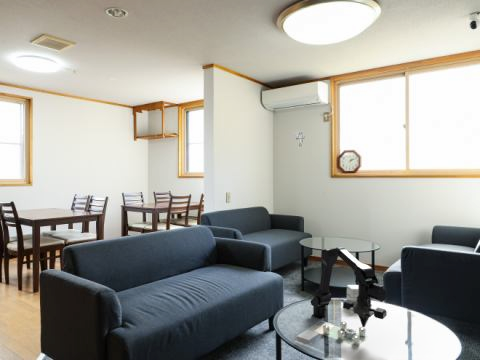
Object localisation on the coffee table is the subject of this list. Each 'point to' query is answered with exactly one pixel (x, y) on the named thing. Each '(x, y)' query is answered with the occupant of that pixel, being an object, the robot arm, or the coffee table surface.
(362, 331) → the spacer field
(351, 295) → the supplement box
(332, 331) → the mat
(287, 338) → the coffee table surface
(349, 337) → the gear
